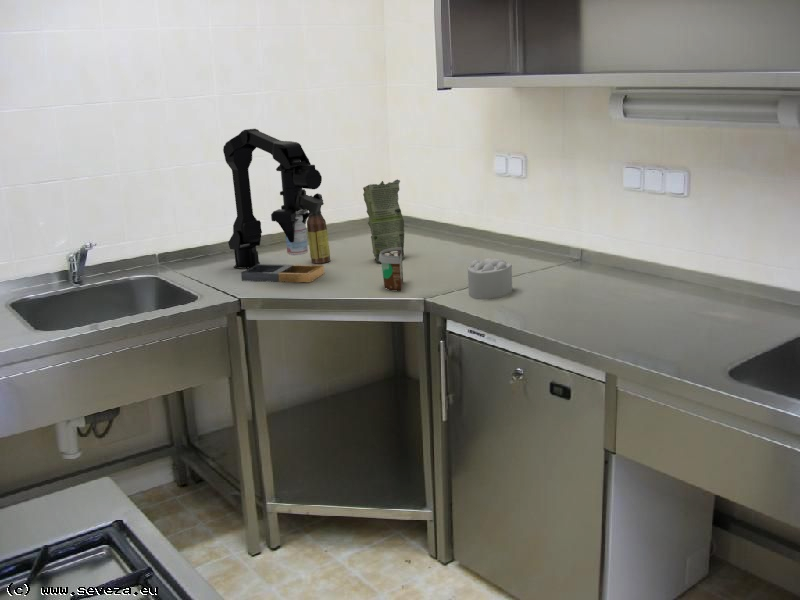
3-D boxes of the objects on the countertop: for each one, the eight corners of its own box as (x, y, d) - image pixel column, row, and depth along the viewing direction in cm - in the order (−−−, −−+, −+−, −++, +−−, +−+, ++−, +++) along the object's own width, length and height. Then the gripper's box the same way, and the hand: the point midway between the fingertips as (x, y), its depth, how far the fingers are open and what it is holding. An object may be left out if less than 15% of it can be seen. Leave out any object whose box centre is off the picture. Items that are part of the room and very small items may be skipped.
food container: (382, 281, 241) (379, 247, 239) (403, 280, 241) (401, 246, 238) (378, 293, 230) (376, 257, 227) (401, 292, 229) (399, 256, 226)
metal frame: (241, 280, 251) (240, 272, 251) (258, 271, 261) (257, 263, 261) (309, 282, 245) (308, 274, 244) (324, 273, 255) (323, 265, 254)
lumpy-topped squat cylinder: (516, 288, 227) (516, 257, 224) (496, 301, 216) (495, 268, 214) (481, 285, 232) (480, 254, 230) (460, 297, 221) (458, 265, 219)
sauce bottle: (332, 259, 273) (327, 198, 267) (328, 263, 267) (323, 201, 261) (312, 260, 273) (307, 199, 268) (308, 264, 267) (302, 202, 262)
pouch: (366, 264, 263) (361, 184, 257) (373, 255, 275) (368, 178, 268) (401, 263, 262) (397, 183, 255) (407, 255, 273) (403, 177, 266)
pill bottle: (287, 251, 252) (284, 214, 249) (307, 250, 253) (304, 213, 249) (287, 256, 246) (283, 218, 243) (308, 254, 247) (305, 216, 244)
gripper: (304, 192, 233) (308, 247, 237) (330, 182, 250) (333, 233, 254) (268, 192, 236) (273, 246, 241) (295, 182, 253) (300, 233, 258)
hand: (296, 239), depth 248 cm, fingers closed on pill bottle, 6 cm apart
